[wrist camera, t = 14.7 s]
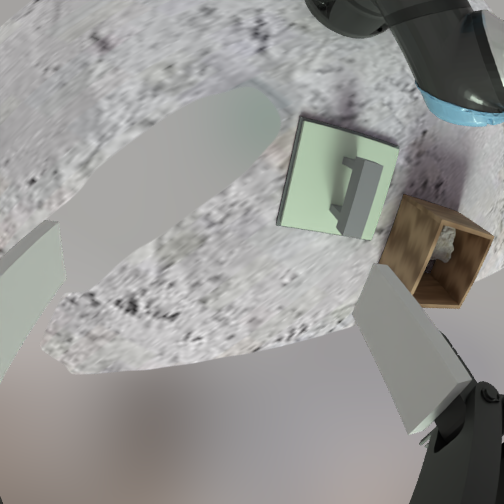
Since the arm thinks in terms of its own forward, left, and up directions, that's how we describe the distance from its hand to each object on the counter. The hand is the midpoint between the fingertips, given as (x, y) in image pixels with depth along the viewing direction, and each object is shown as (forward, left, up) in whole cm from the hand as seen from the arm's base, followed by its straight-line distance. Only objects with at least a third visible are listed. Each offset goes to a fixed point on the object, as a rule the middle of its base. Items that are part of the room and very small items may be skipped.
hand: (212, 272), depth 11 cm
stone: (+7, +43, -35) cm, 56 cm away
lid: (+2, +19, -34) cm, 39 cm away
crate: (+9, +40, -35) cm, 54 cm away
